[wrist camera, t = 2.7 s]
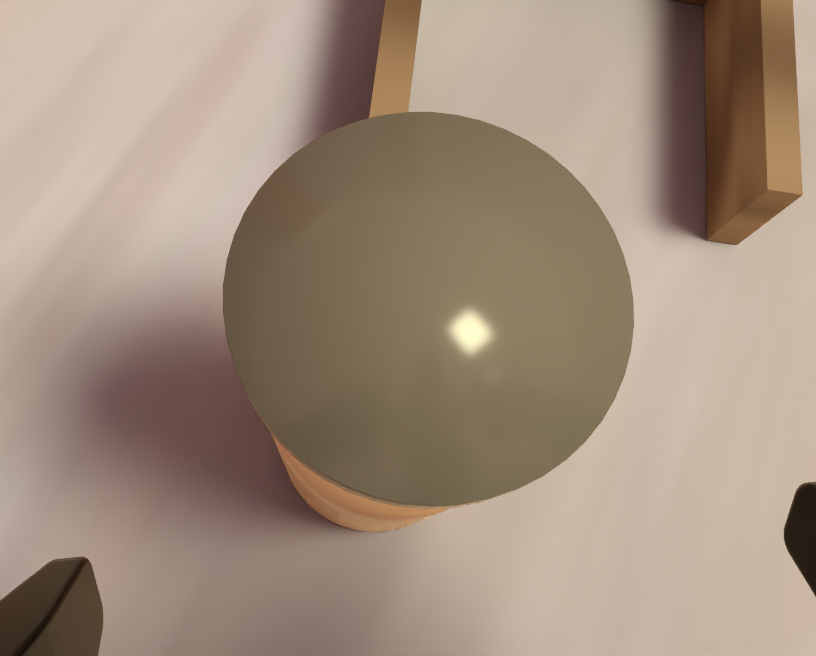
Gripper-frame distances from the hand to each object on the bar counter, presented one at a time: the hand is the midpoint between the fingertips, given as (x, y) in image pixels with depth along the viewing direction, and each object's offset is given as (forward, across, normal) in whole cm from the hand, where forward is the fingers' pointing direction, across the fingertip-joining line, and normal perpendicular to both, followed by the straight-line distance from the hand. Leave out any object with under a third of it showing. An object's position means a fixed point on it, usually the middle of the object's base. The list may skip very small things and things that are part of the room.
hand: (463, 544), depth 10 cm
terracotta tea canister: (+10, 0, -6) cm, 12 cm away
